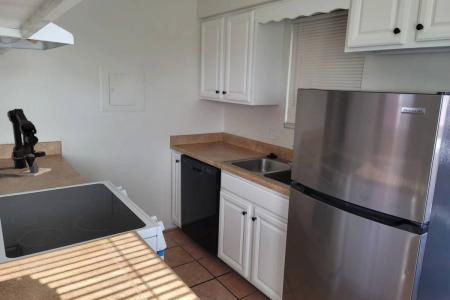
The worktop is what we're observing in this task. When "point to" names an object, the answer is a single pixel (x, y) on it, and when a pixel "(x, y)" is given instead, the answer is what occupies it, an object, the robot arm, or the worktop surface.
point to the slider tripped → (34, 169)
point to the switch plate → (27, 173)
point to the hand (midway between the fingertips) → (30, 166)
